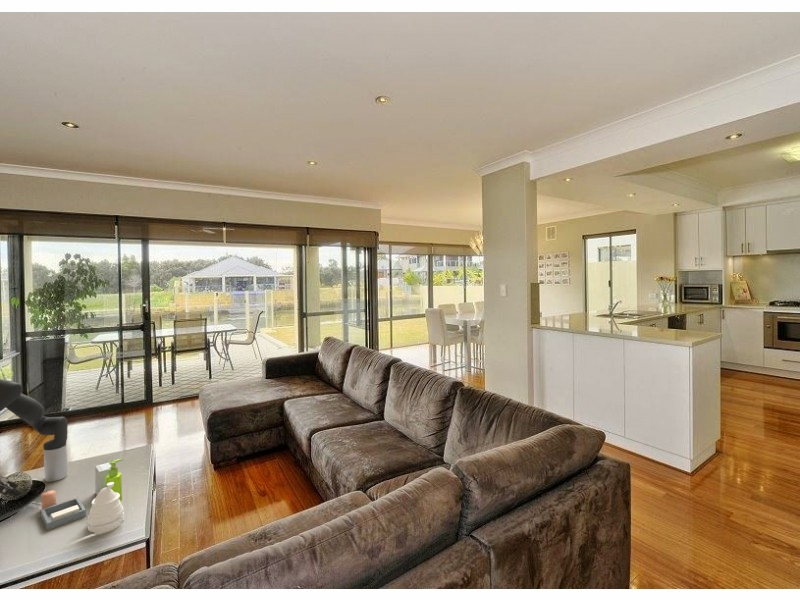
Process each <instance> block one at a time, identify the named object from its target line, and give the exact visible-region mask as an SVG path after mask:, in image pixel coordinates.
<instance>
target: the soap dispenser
mask: <svg viewBox="0 0 800 600" xmlns="http://www.w3.org/2000/svg"><path fill="white" fill-rule="evenodd" d="M123 460H124V459H122V458H118V459H117V458H116V459H114V460H112V461H110V462H108V463H109V464H110V465H111V468H110V469H109V475H108V476H107V477H106V487H107V484H108V483H110V482H114V485H113V487H112V488H110V489H112V490H113V491H114V492H116V493H119V494H120V497H119V500H120V501H121V502H122V500H123V491H122V490H123V489H122V488H123V487H122V473H121V472H119V468H118V466H116V463H119V462H121V461H123ZM107 488H108V487H107Z"/></svg>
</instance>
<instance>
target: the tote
mask: <svg viewBox="0 0 800 600" xmlns="http://www.w3.org/2000/svg"><path fill="white" fill-rule="evenodd" d="M75 505H78V507H79V511H77V512H74V513H72V514H69V515H66V516H63V517H60V518H58V519H55V520H52V521H51V514H52V513H55V512H58V511H61V510H64V509H67V508H69V507H72V506H75ZM40 516H41V519H42V521H43V523H44V526H45V527H46V529H47V531H49V530H52V529H54V528H57V527H60V526H62V525H65V524H68V523H71V522H74V521H75V520H79V519H82V518H84V517H87V509H86V508H85V506H84V505H83V503H82V502H81V500H80V499H79V497H78V496H76V497H74V498H72V499H71V498H70V499H67V500H66V501H63V502H60V503H56V505H53V506H50V507H47V508H44V509H42V508H41V509H40Z"/></svg>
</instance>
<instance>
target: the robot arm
mask: <svg viewBox="0 0 800 600" xmlns="http://www.w3.org/2000/svg"><path fill="white" fill-rule="evenodd" d="M4 409H7V410H8V411H9V412H10V413H11V412H12V414H14V415H15V416H16V417H18V418H20V419H21V420H22V421H25V423H27V424H28V425H29V426H31V427H32V428H33V429H34V430H35V431H36V432H37V433H38V434H39V435H42V436H53V439H52V438H51V439H50V440H47V441H45V442H44V443H43V446H42V447H43V448H42V449H43V467H44V468H43V469H44V482H46V483H51V482H52V483H53V482H57V481H61V480H63V479H64V478H67V476H68V474H69V473H68V454H67V453H68V452H67V451H68V450H67V440H68V419H67V418H66V416H50V417H49V416H45V415H44V413H45V407H44V405H42V403H40V402H39V401H38V400H36V399H35V398H32V397H30V396H29V395H26V394H24V393H23V385H22V384H21V383H19V382H17V381H16V382H15V381H12V380H8V379H3V378H0V412H1V411H3V410H4ZM18 487H19V484H18V483H16V482H14V481H11V480H10V479H9V478H8V477H5V476H2V475H0V494H1V495H4V496H7V495H11V496H13V497H18V496H19V495H20V494H21V493H22V491H21V490H18V489H17V488H18Z"/></svg>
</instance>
